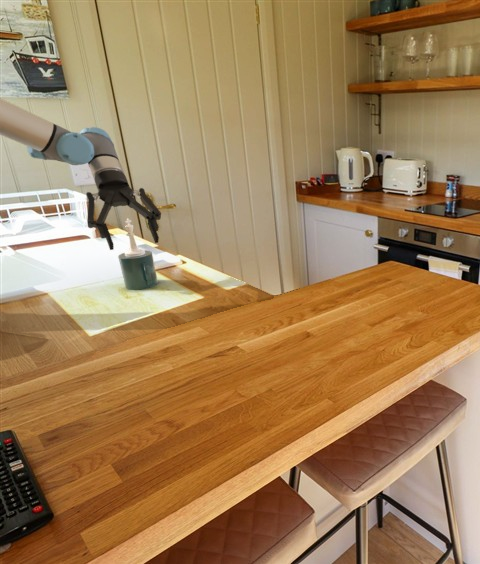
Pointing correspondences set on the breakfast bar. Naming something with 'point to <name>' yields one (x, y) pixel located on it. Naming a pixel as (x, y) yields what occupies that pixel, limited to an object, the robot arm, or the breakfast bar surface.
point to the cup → (138, 271)
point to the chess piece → (132, 242)
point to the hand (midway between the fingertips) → (135, 243)
